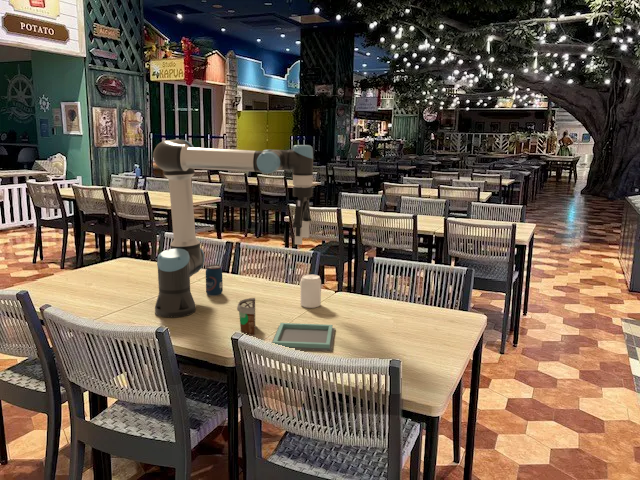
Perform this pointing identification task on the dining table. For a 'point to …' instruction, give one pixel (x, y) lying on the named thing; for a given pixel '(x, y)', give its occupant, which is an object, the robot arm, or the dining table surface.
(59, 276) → the dining table surface
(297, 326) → the container holder
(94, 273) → the dining table surface
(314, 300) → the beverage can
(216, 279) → the soda can
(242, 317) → the food container
